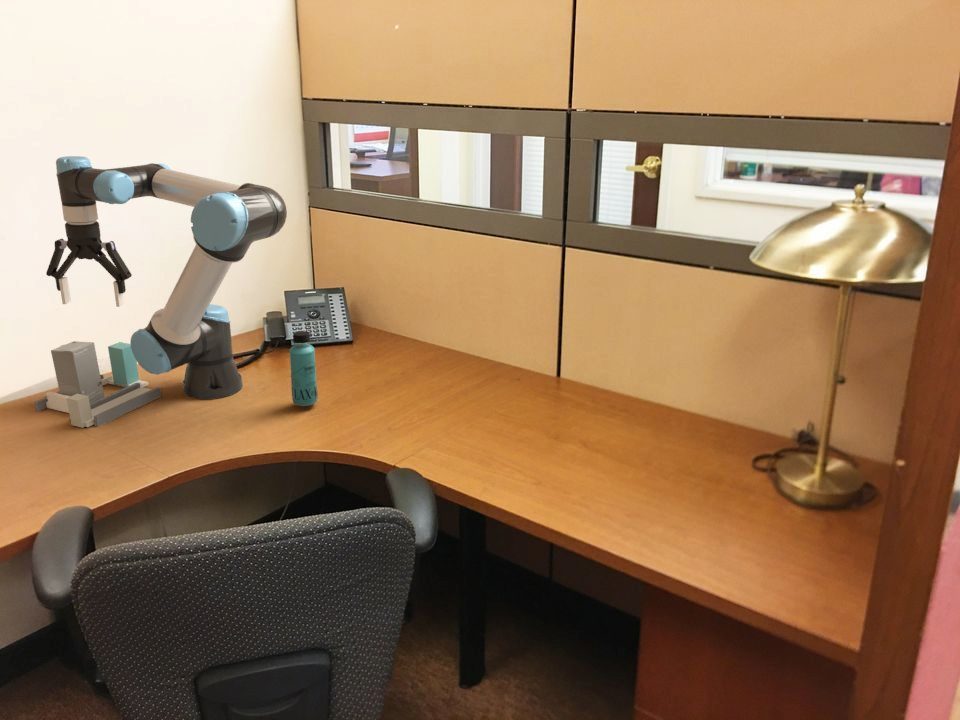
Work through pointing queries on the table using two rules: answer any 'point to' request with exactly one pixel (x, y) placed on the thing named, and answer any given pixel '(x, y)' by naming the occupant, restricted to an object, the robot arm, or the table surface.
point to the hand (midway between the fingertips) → (93, 304)
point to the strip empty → (85, 415)
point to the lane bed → (116, 410)
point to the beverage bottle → (303, 370)
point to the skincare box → (78, 370)
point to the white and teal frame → (121, 371)
